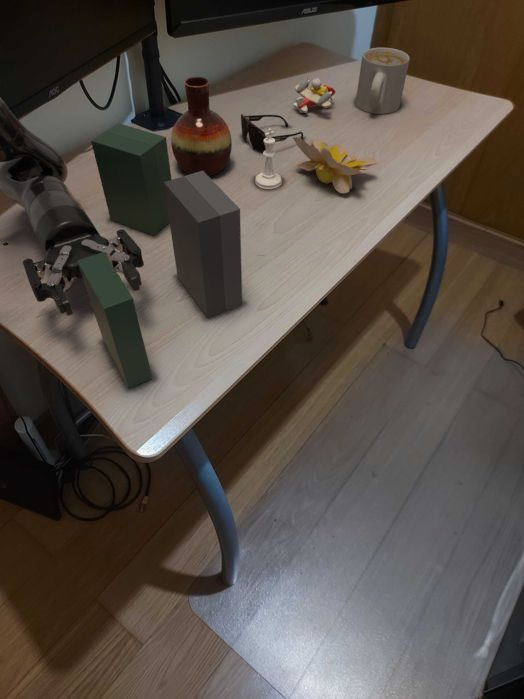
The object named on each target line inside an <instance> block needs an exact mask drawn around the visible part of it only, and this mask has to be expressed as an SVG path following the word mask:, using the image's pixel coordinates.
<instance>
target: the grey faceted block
mask: <svg viewBox="0 0 524 699" xmlns="http://www.w3.org/2000/svg"><path fill="white" fill-rule="evenodd" d="M164 188H165V195H166V201H167V208H168V215H169V228H170V235H171V241H172V242H171V243H172V249H173V256H174V261H175V268H176V276H177V279H178V280H179V281H180V283H181V284H182V285H183V287H184V288H185V289H186V291H187V292H188V294H189V296H190V297H192V299H193V300H194V302H195V303H196V305H197V306H198V307H199V309H200V311H202V313H203V315H205V317H206V318H207V319H209V318H211V317H214V316H217V315H219V314H221V313H224V312H226V311H229V310H232V309H234V308H237V307H240V306H242V305H243V283H242V282H243V279H242V278H243V277H242V238H241V237H242V236H241V235H242V234H241V232H242V230H241V209H240V207H239V206H238V205H237V204H236V203H235V202H234V201H233V200H232V199H231V198H230V197H229V196H228V195H227V194H226V192H224V191H223V189H221V187H219V186H218V184H216V182H215V181H213V179H212V178H211V176H208V175H207V174H206V173H205V172H204V171H200V172H197V173H193V174H187V175H184V176H180V177H176V178H173V179H172V180H169V181H166V182H164Z"/></svg>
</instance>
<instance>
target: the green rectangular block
mask: <svg viewBox="0 0 524 699" xmlns="http://www.w3.org/2000/svg"><path fill="white" fill-rule="evenodd" d="M90 142H91V146H92V150H93V154H94V158H95V162H96V166H97V171H98V175H99V179H100V182H101V187H102V191H103V195H104V198H105V203H106V208H107V211H108V215H109V218H110V221H112V222H115V223H117V224H120V225H122V226H125V227H128V228H131V229H134V230H136V231H139V232H142V233H144V234H148V235H151V236H153V237H155V236H156V235H158V233H160V232H161V231H162V230H163V229H164V228H165V227H166V226H167V225H169V224H170V222H169V215H168V208H167V201H166V195H165V188H164V182H166V181H169V180H173V179H172V173H171V165H170V157H169V150H168V143H167V142H168V141H167V137H166V136H164V135H160V134H157V133H154V132H150V131H148V130H142V129H140V128H136V127H133V126H129V125H126V124H123V123H120V122H119V123H116V124H115V125H113V126H111V127H110V128H108V129H107V130H105V131H104V132H102V133H100V134H98V135H97V136H96V137H94V138H93V139H91V140H90Z"/></svg>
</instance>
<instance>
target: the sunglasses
mask: <svg viewBox="0 0 524 699" xmlns="http://www.w3.org/2000/svg"><path fill="white" fill-rule="evenodd" d="M263 118H280V119H281V120H282V121H283V122H284V126H285V127H286V128H288V127H289V123H288V122H287V121H286V119H285V118H284V117H283V116H281V115H280V114H279V115H278V114H255V115H254V114H253V115H252V114H251V115H244V114H243V113H242V114H240V125H241V134H242V139H243V141H246V140H247V138H248V139H249V142H250V145H251V147H252V148H253V150H254V151H257V152H259V153H263V152H264V151H265V150H266V148H265V144H264V139H265V138H267V137H266V136H265V133H266V132H265V131H263V130H262V129H260V128H259V127H258V126H257V125H256V124H255V123H253V122H259V121H261V120H262V119H263ZM298 135H300V138H301V139H302V140H303V137H304V132H302V131H298V132H295V133H291V134H282V135H275V136H274V135H273V136H271V138H274V139H275V143H277V142H284V141H286V140H287V139H288V138H289V137H296V136H298Z"/></svg>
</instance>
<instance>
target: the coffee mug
mask: <svg viewBox="0 0 524 699" xmlns="http://www.w3.org/2000/svg"><path fill="white" fill-rule="evenodd" d="M410 59H411V58H410V55H408V53H407V52H405V51H403V50H400V49H396V48H392V47H373V48H372V47H371V48H369V49H366V50H365V51H364V52H363V53H362V55H361V61H360V62H361V63H360V70H359V75H358V83H357V90H356V95H355V96H356V97H355V106H356V107H357V108H358V109H360V110H361V111H364V112H367V113H370V114H375V115H387V114H392V113H395V112H397V111H398V110H399V109H400V106H401V102H402V98H403V92H404V87H405V83H406V78H407V73H408V69H409V65H410Z"/></svg>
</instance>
